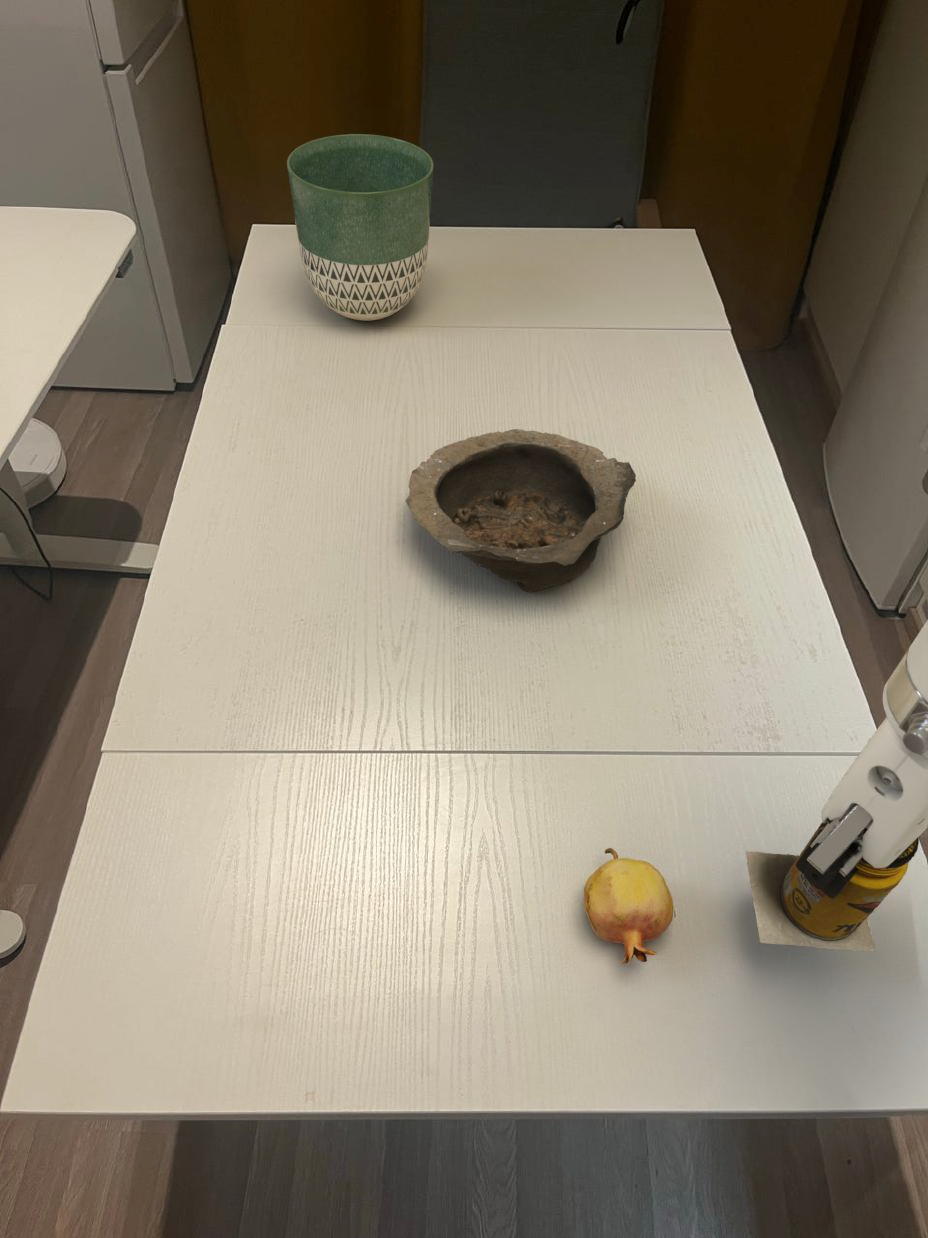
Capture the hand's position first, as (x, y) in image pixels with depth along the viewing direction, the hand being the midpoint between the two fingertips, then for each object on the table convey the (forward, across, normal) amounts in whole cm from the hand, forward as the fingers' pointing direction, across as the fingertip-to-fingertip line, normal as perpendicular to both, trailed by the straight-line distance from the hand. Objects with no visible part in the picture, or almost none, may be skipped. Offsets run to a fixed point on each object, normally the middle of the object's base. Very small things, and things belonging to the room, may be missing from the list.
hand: (845, 851), depth 63 cm
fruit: (+14, -10, +9) cm, 19 cm away
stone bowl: (+14, +13, +49) cm, 52 cm away
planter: (+14, +28, +100) cm, 105 cm away
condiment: (+7, -1, 0) cm, 7 cm away
